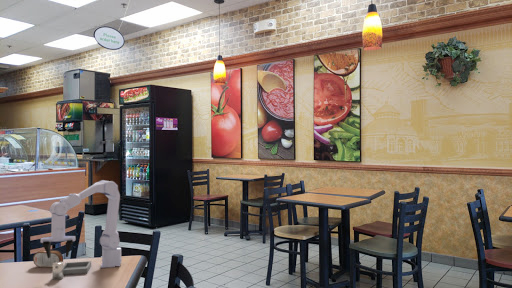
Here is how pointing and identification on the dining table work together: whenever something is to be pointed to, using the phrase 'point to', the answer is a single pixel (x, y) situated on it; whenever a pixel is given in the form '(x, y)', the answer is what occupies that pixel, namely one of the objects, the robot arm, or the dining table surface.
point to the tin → (44, 261)
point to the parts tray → (76, 268)
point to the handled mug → (57, 270)
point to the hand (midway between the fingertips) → (58, 257)
